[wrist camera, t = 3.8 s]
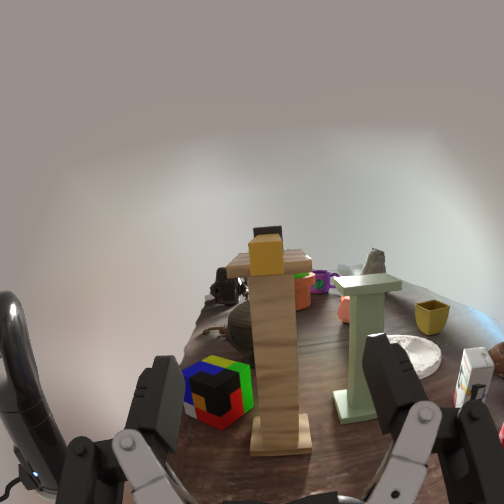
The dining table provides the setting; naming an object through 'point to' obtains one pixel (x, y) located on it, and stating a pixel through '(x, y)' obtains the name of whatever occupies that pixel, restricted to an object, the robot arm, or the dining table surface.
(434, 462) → the dining table surface
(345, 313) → the sugar bowl
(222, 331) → the seahorse
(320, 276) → the mug
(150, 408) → the robot arm
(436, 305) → the flower pot
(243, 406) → the puzzle toy
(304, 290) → the potted cactus
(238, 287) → the camera
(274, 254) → the yellow bar
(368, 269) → the figurine
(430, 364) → the medallion
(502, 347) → the donut
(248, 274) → the wooden pedestal
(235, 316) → the pot
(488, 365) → the ink box
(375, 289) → the green pedestal stand
